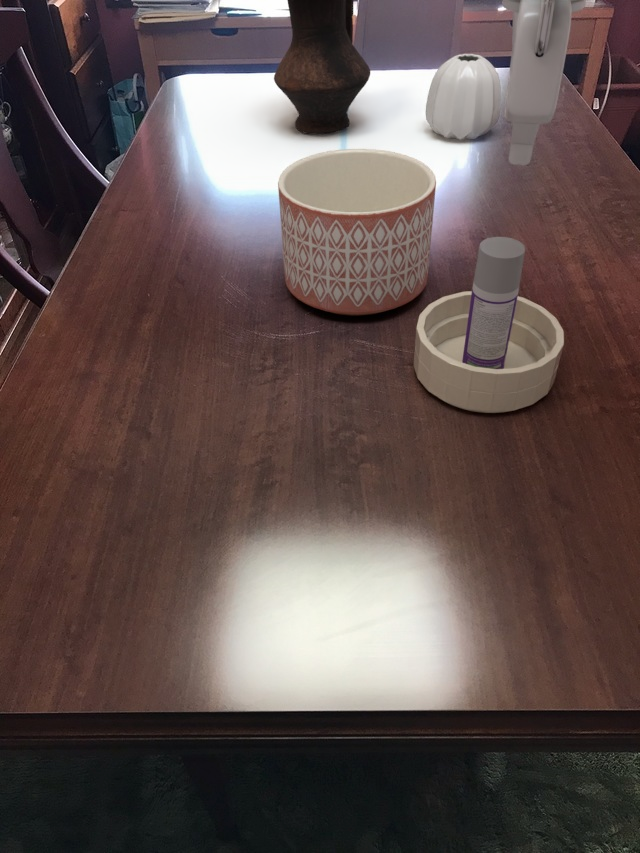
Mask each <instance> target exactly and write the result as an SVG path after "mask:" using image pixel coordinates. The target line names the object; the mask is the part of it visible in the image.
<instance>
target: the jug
mask: <svg viewBox="0 0 640 853" xmlns="http://www.w3.org/2000/svg"><path fill="white" fill-rule="evenodd" d="M286 1H287V6H288V11H289V19H290V24H291V32H292V33H291V34H292V36H291V41H290V45H289V47H288V49H287V51H286V53H285V54H284V56H283V57H282V59H281V61H280V62H279V63H278V66H277V68H276V70H275V73H274V76H273V81H274V83H275V85H276V86H277V88H278V89H280V91H281V92H282V93H283V94H284V95H285V96H286V97H287V98H288V100H289V101H290V103H292V105H293V106H294V108H295V110H296V111H297V114H298V116H297V117H296V119H295V122H294V127H295V129H296V130H297V131H298V132H299V133H302V134H303V133H304V134H307V135H309V134H311V135H329V134H334V133H337V132H342V131H344V130H346V129H348V128H349V127H350V124H351V123H350V118H349V115H348V110H349V109H350V106H351V105H352V103H353V102H354V101H355V99H356V97H357V96H358V94H359V93H360V92H361V91H362V90H363V88H364V87H365V86H366V84H367V83H368V81H369V80H370V76H371V69H370V66H369V64H368V63H367V62H366V61H365V59H364V57H363V56H362V55H361V54H360V53H359V51H358V50H357V49H356V47H355V46H354V44H353V41H354V21H353V20H354V19H353V17H354V0H286Z"/></svg>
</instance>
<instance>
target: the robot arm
mask: <svg viewBox="0 0 640 853" xmlns="http://www.w3.org/2000/svg"><path fill="white" fill-rule="evenodd" d="M501 2H502V3H501V4H502V7H503V8H504V9H506V10H507V11H510V12H512V34H511V35H512V36H511V37H512V38H511V40H512V42H511V55H510V64H509V72H508V79H507V85H506V94H505V102H504V119H505V121H506V122H508V123H511V136H510V146H509V152H508V160H507V161H508V163H509V164H510V165H512V166H527V165H529V164H531V163H530V162H531V160H532V155H533V150H534V145H535V142H536V139H537V136H538V132H539V129H540V127H541V126H540V125H548V124H550V123H552V121H553V119H554V116H555V114H556V110H557V106H558V100H559V96H560V90H561V85H562V79H563V73H564V68H565V62H566V56H567V52H568V44H569V40H570V34H571V26H572V14H574V13H578V12H581V11H582V10H583V9H584V8H585V7H586V4H587V3H586V2H587V0H502V1H501Z"/></svg>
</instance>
